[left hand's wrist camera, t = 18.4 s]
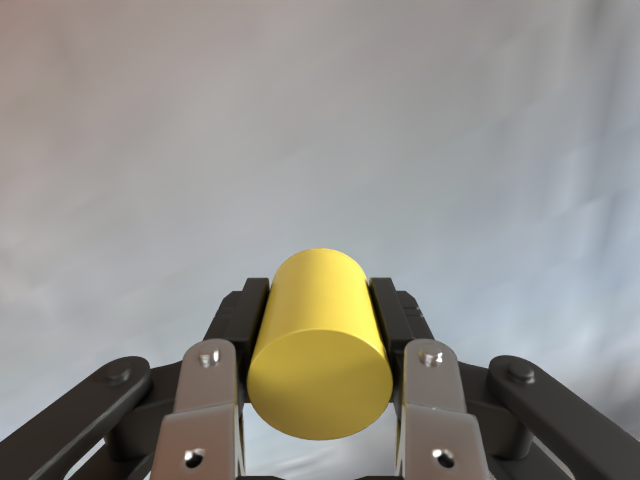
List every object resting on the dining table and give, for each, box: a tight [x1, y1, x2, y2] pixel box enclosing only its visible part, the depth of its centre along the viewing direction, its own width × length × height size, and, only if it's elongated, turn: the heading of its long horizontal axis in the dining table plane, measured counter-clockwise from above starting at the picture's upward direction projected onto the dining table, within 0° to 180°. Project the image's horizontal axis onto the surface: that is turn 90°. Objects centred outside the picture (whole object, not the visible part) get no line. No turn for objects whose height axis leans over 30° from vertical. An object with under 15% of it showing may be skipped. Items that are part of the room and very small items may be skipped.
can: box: [247, 248, 393, 440], centre depth 11 cm, size 4×4×5 cm
